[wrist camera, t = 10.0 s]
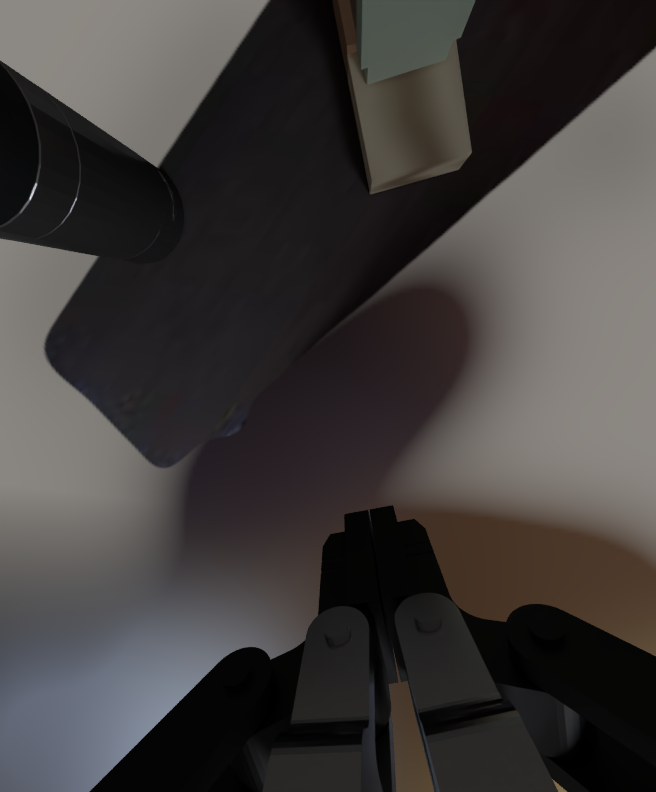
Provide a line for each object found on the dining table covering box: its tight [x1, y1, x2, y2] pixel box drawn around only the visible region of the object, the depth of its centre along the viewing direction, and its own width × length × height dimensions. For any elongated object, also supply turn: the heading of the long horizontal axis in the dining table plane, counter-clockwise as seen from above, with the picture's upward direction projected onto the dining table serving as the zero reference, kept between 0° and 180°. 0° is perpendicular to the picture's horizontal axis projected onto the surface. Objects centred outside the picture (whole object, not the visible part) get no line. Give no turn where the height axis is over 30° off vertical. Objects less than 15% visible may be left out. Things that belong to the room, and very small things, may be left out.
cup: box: [332, 0, 357, 80], centre depth 29 cm, size 8×6×6 cm
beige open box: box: [347, 39, 472, 194], centre depth 31 cm, size 8×9×4 cm
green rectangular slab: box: [356, 0, 475, 85], centre depth 24 cm, size 7×2×10 cm, turn 103°
